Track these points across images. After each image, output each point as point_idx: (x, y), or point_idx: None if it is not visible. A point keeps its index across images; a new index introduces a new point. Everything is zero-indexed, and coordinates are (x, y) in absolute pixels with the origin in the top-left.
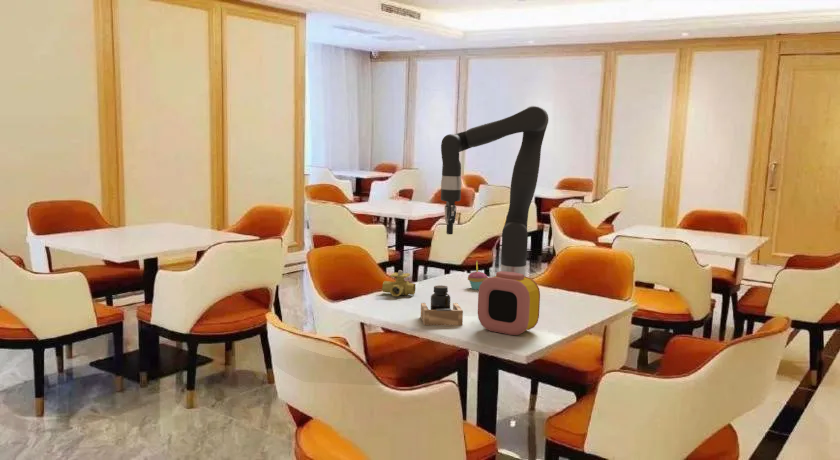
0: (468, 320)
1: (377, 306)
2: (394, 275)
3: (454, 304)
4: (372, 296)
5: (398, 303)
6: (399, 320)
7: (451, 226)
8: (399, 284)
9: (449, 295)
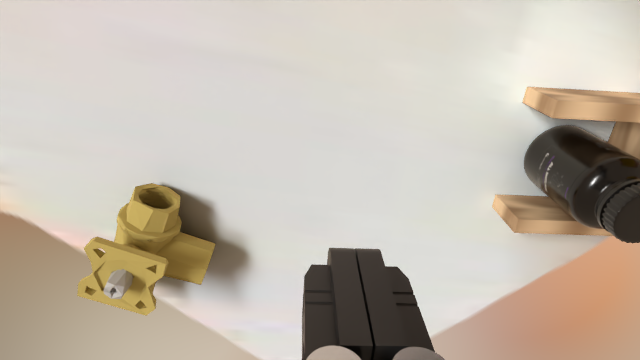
0: (589, 53)
1: None
2: (151, 302)
3: (577, 118)
4: (192, 307)
5: (296, 247)
6: (514, 265)
7: (428, 346)
8: (174, 262)
9: (633, 163)
